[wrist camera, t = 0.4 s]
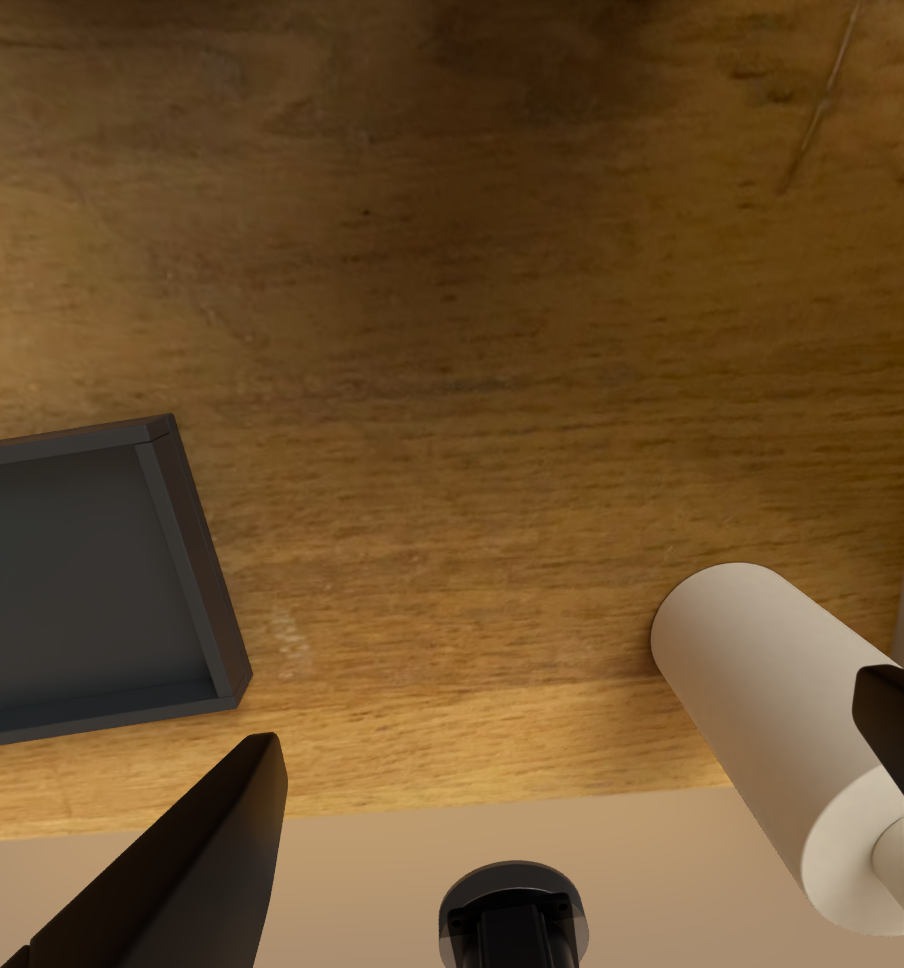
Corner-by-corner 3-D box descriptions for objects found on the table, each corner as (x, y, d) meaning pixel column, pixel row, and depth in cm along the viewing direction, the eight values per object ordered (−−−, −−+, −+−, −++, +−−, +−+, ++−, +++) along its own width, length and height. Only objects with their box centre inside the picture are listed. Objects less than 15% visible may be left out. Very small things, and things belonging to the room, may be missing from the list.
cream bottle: (796, 681, 25) (1170, 1059, 12) (653, 703, 25) (881, 1104, 12) (802, 550, 23) (1255, 842, 10) (646, 575, 23) (912, 894, 10)
